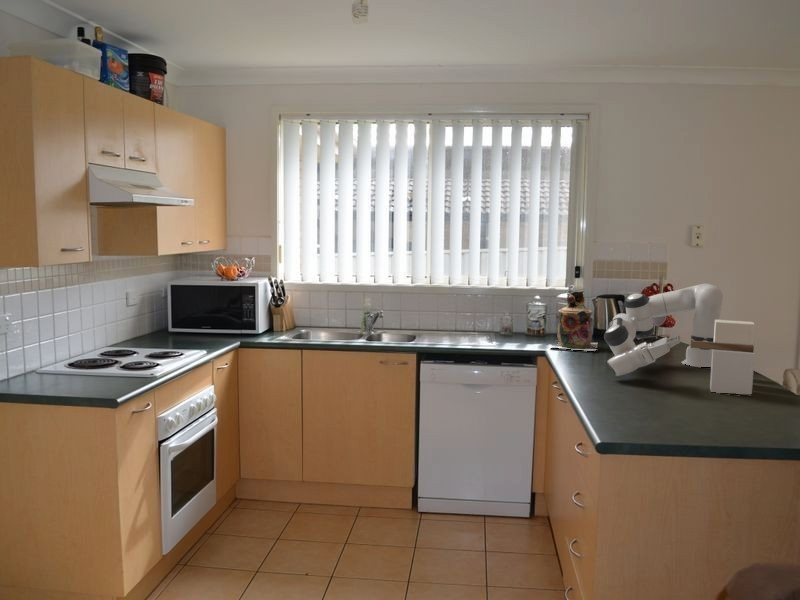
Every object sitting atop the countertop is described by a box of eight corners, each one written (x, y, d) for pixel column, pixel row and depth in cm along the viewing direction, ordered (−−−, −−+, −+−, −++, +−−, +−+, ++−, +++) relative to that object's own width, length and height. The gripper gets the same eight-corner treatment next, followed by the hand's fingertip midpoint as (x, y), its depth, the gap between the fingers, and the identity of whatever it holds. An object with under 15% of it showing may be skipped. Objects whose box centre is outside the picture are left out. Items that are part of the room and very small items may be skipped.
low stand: (709, 387, 262) (712, 347, 261) (749, 391, 257) (752, 350, 255) (710, 392, 253) (713, 350, 252) (751, 396, 248) (754, 353, 246)
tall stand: (710, 380, 277) (714, 319, 274) (748, 383, 271) (752, 321, 269) (711, 384, 267) (716, 322, 265) (750, 388, 262) (754, 324, 260)
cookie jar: (552, 343, 370) (555, 287, 367) (598, 346, 362) (600, 289, 359) (549, 350, 346) (551, 290, 343) (597, 353, 339) (600, 292, 336)
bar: (690, 346, 261) (690, 340, 261) (752, 351, 252) (753, 344, 252) (690, 347, 258) (691, 341, 258) (753, 352, 249) (753, 346, 249)
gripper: (651, 356, 275) (683, 342, 269) (649, 364, 256) (683, 349, 251) (644, 342, 276) (676, 328, 270) (641, 349, 257) (675, 334, 251)
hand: (679, 338), depth 260 cm, fingers open, 8 cm apart
